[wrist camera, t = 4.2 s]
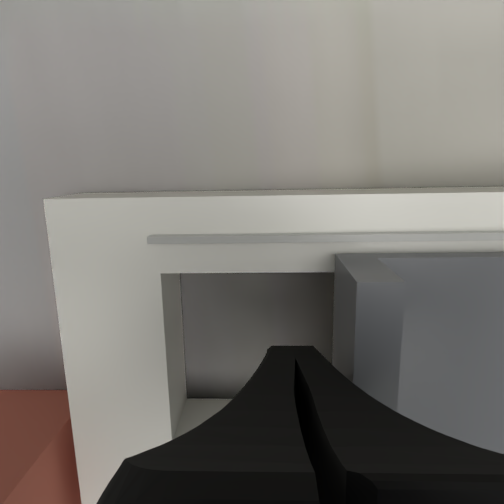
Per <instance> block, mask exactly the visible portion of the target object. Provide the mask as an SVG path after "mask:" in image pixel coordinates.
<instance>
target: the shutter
mask: <svg viewBox="0 0 504 504" xmlns="http://www.w3.org/2000/svg"><path fill="white" fill-rule="evenodd" d="M332 365H333V366H334V367H335V368H336V369H337V370H338V371H339V372H341V373H342V374H343V375H344V376H345V377H346V378H348V379H349V380H350V381H351V382H352V383H354V384H355V385H356V386H358V387H359V388H360V389H362V390H363V391H364V392H366V393H367V394H368V395H370V396H371V397H373V398H374V399H376V400H378V401H379V402H381V403H382V404H384V405H386V406H387V407H389V408H391V409H392V410H394V411H396V412H398V413H400V414H401V415H403V416H405V417H407V418H409V419H411V420H413V421H415V422H417V423H420V424H422V425H424V426H426V427H428V428H430V429H432V430H435V431H437V432H440V433H442V434H444V435H447V436H450V437H452V438H455V439H458V440H460V441H463V442H466V443H469V444H471V445H474V446H477V447H480V448H484V449H487V450H491V451H494V452H498V453H501V454H504V252H449V253H342V254H335V278H334V316H333V354H332Z"/></svg>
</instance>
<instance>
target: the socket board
mask: <svg viewBox="0 0 504 504" xmlns="http://www.w3.org/2000/svg"><path fill="white" fill-rule="evenodd" d="M43 202H44V210H45V218H46V226H47V234H48V242H49V250H50V258H51V265H52V273H53V281H54V289H55V297H56V305H57V313H58V321H59V329H60V337H61V345H62V353H63V361H64V369H65V377H66V385H67V392H68V400H69V408H70V416H71V424H72V432H73V440H74V448H75V456H76V464H77V472H78V480H79V488H80V496H81V504H97V502H98V500H99V498H100V496H101V495H102V493H103V491H104V490H105V488H106V486H107V485H108V483H109V481H110V480H111V479H112V477H113V476H114V474H115V473H116V471H117V470H118V468H119V467H120V465H121V464H122V462H123V460H124V459H125V458H128V457H131V456H134V455H137V454H139V453H142V452H144V451H147V450H149V449H152V448H155V447H157V446H160V445H162V444H164V443H167V442H169V441H171V440H173V439H175V438H177V437H179V436H181V435H183V434H185V433H186V432H188V431H190V430H192V429H193V428H195V427H197V426H199V425H200V424H202V423H203V422H204V421H206V420H207V419H209V418H210V417H212V416H213V415H214V414H216V413H217V412H219V411H220V410H221V409H222V408H224V407H225V406H226V405H227V404H228V403H229V402H230V401H231V400H232V399H187V388H186V371H185V354H184V336H183V319H182V301H181V284H180V273H292V272H335V254H342V253H449V252H504V186H491V187H428V188H364V189H300V190H236V191H173V192H109V193H79V194H72V195H66V196H59V197H53V198H47V199H43Z"/></svg>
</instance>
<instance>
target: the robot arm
mask: <svg viewBox="0 0 504 504" xmlns="http://www.w3.org/2000/svg"><path fill="white" fill-rule="evenodd" d="M97 504H504V454H501V453H498V452H494V451H491V450H487V449H484V448H480V447H477V446H474V445H471V444H469V443H466V442H463V441H460V440H458V439H455V438H452V437H450V436H447V435H444V434H442V433H440V432H437V431H435V430H432V429H430V428H428V427H426V426H424V425H422V424H420V423H417V422H415V421H413V420H411V419H409V418H407V417H405V416H403V415H401V414H400V413H398V412H396V411H394V410H392V409H391V408H389V407H387V406H386V405H384V404H382V403H381V402H379V401H378V400H376V399H374V398H373V397H371V396H370V395H368V394H367V393H366V392H364V391H363V390H362V389H360V388H359V387H358V386H356V385H355V384H354V383H352V382H351V381H350V380H349V379H348V378H346V377H345V376H344V375H343V374H342V373H341V372H339V371H338V370H337V369H336V368H335V367H334V366H333V365H332V364H331V363H330V362H329V361H328V360H327V359H326V358H325V357H324V356H323V355H322V354H321V353H320V352H319V351H318V350H317V349H316V348H315V347H314V346H271V347H270V348H269V349H268V350H267V353H266V355H265V357H264V359H263V361H262V362H261V364H260V366H259V367H258V369H257V370H256V371H255V373H254V374H253V376H252V377H251V379H250V380H249V381H248V382H247V383H246V385H245V386H244V387H243V388H242V389H241V391H240V392H239V393H238V394H237V395H236V396H235V397H234V398H233V399H232V400H231V401H230V402H229V403H228V404H227V405H226V406H225V407H224V408H222V409H221V410H220V411H219V412H217V413H216V414H214V415H213V416H212V417H210V418H209V419H207V420H206V421H204V422H203V423H202V424H200V425H199V426H197V427H195V428H193V429H192V430H190V431H188V432H186V433H185V434H183V435H181V436H179V437H177V438H175V439H173V440H171V441H169V442H167V443H164V444H162V445H160V446H157V447H155V448H152V449H149V450H147V451H144V452H142V453H139V454H137V455H134V456H131V457H128V458H125V459H124V460H123V462H122V464H121V465H120V467H119V468H118V470H117V471H116V473H115V474H114V476H113V477H112V479H111V480H110V481H109V483H108V485H107V486H106V488H105V490H104V491H103V493H102V495H101V496H100V498H99V500H98V502H97Z"/></svg>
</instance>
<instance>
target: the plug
mask: <svg viewBox="0 0 504 504" xmlns="http://www.w3.org/2000/svg"><path fill="white" fill-rule="evenodd" d="M0 504H81V496H80V488H79V480H78V472H77V464H76V456H75V448H74V440H73V432H72V424H71V416H70V408H69V400H68V392H67V390H0Z"/></svg>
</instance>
